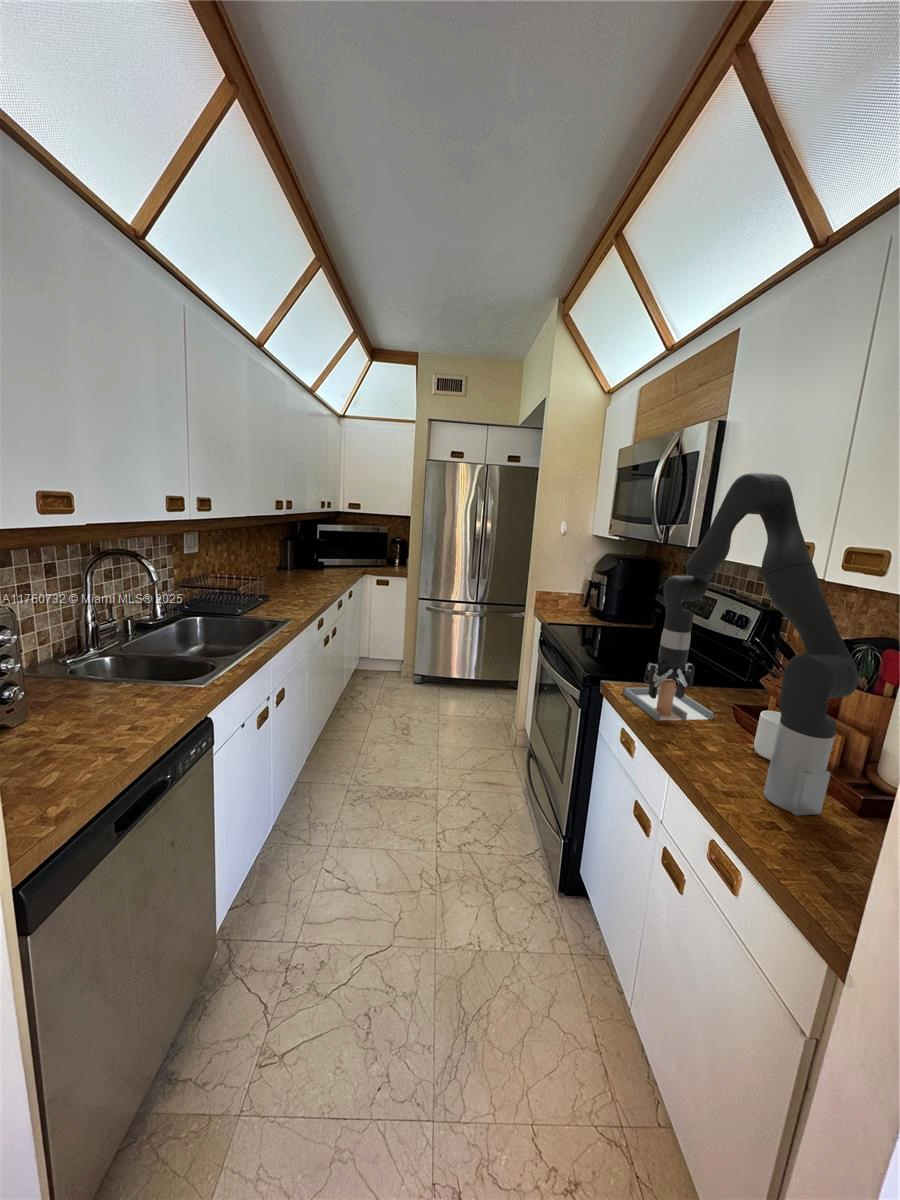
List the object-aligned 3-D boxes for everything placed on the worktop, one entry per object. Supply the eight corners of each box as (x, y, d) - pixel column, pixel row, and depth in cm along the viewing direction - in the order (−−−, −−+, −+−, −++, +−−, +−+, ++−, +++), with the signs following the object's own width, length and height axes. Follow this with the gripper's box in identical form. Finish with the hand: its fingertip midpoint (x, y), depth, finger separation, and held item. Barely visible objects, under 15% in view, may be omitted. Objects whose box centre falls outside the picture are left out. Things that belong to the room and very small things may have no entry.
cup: (759, 759, 117) (767, 721, 115) (744, 737, 129) (751, 702, 127) (797, 765, 115) (806, 728, 113) (778, 742, 127) (786, 708, 124)
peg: (673, 715, 136) (679, 683, 134) (661, 715, 136) (666, 683, 134) (665, 709, 140) (670, 677, 138) (653, 709, 139) (658, 677, 137)
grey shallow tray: (711, 722, 137) (713, 712, 136) (655, 723, 134) (657, 713, 133) (671, 695, 155) (673, 686, 154) (621, 695, 152) (622, 687, 151)
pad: (678, 718, 136) (678, 716, 136) (659, 718, 135) (660, 717, 134) (666, 709, 141) (666, 707, 141) (648, 709, 140) (648, 708, 140)
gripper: (659, 648, 129) (650, 703, 132) (705, 649, 131) (696, 702, 135) (644, 640, 136) (636, 692, 139) (688, 641, 138) (679, 692, 142)
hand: (665, 697), depth 137 cm, fingers open, 8 cm apart
